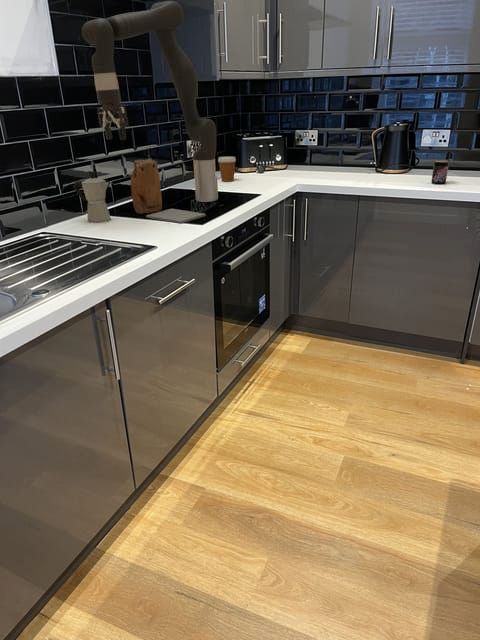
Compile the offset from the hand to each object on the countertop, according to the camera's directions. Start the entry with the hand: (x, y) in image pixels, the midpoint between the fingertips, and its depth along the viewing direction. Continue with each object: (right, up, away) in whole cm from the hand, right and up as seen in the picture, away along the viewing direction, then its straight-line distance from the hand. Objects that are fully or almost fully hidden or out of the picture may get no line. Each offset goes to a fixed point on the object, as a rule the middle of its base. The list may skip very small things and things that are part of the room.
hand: (116, 139), depth 170 cm
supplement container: (+141, +3, +66) cm, 156 cm away
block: (+7, -20, +25) cm, 33 cm away
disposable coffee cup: (+37, +10, +87) cm, 96 cm away
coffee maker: (-11, -26, +14) cm, 31 cm away
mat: (+19, -24, +16) cm, 34 cm away
